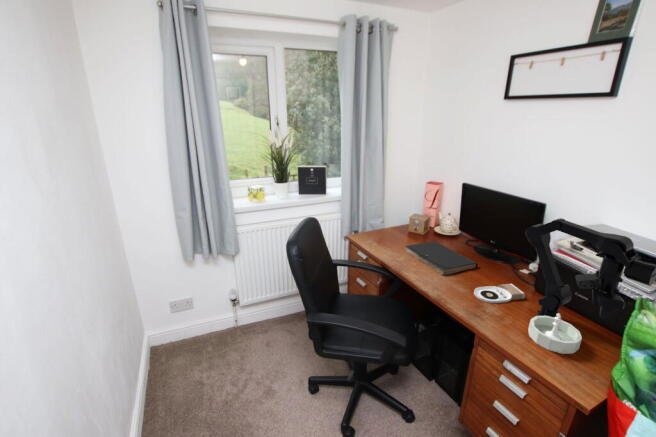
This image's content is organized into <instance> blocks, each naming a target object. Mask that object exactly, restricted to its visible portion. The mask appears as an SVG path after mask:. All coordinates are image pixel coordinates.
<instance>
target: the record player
mask: <svg viewBox="0 0 656 437" xmlns="http://www.w3.org/2000/svg"><path fill="white" fill-rule="evenodd" d="M473 295H474V296H475V298H477V299H478V300H480V301H483V302H486V303H489V304H500V303H509V302H511V300H512V301H513V300H523V299H525V296H526V295H525V292H523V291H522V290H521V289H519V287H517V286H515V285H514V284H513V283H505V284H504V283H503V284H498V286H494V285H492V286H491V285H489V286H487V285H486V286H478V287H476V288H474V291H473Z"/></svg>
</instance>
